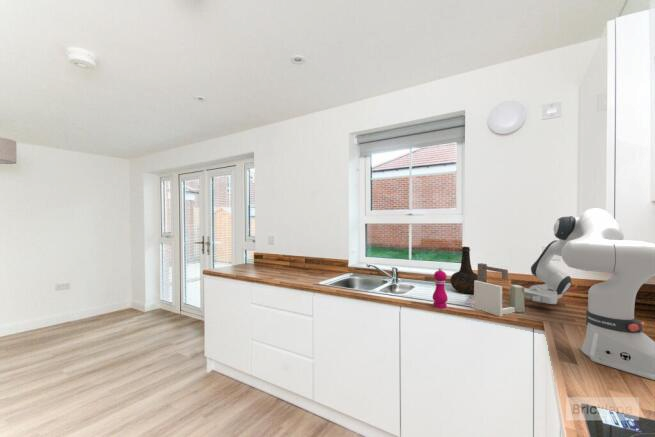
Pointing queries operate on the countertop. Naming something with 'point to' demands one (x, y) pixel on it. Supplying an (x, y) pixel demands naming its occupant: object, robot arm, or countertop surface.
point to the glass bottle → (464, 274)
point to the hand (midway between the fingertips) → (521, 296)
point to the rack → (489, 299)
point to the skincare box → (517, 298)
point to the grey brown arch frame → (483, 270)
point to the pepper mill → (440, 289)
